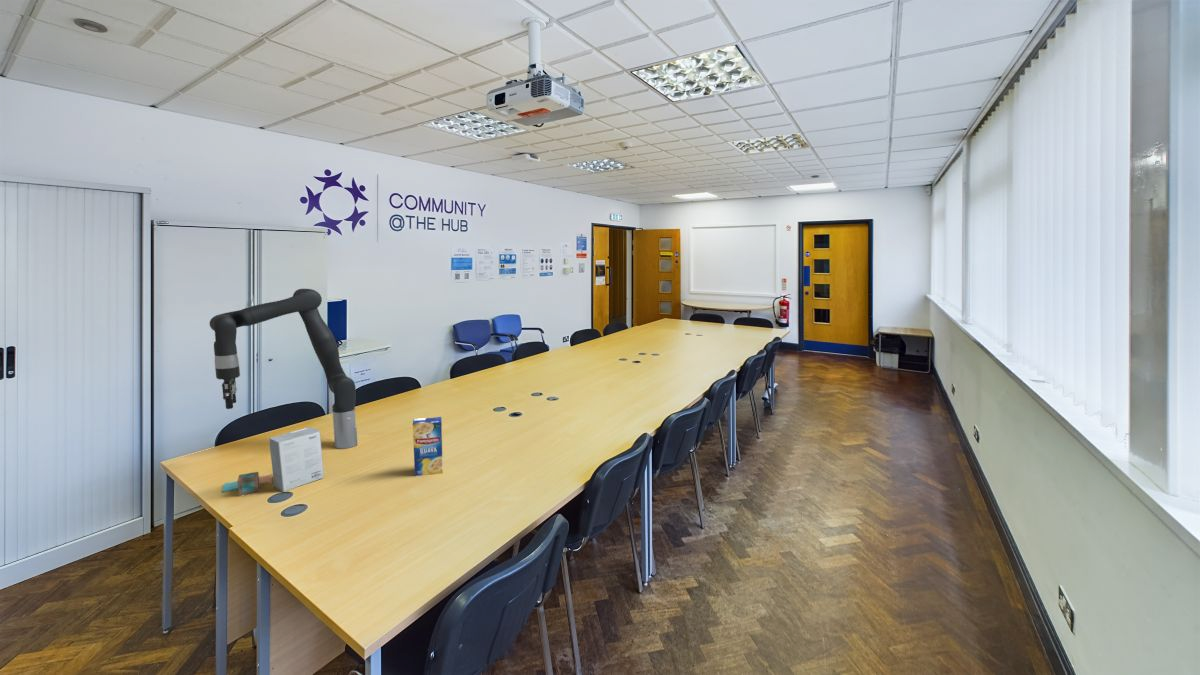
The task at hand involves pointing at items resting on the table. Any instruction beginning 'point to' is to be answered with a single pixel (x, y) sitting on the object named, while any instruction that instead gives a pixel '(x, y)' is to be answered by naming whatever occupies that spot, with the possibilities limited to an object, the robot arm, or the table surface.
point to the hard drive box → (296, 458)
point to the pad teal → (230, 486)
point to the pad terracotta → (265, 479)
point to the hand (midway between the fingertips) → (231, 405)
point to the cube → (248, 483)
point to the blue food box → (427, 446)
